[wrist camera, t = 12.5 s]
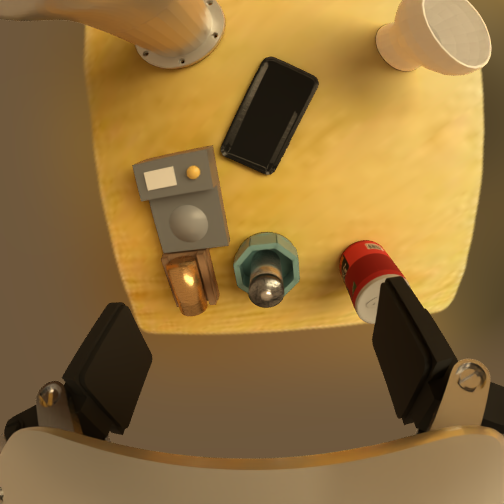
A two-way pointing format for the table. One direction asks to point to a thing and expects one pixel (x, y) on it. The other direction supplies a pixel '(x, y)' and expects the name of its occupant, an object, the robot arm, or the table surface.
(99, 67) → the table surface
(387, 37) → the cup
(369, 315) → the canned food
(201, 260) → the walnut trough
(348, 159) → the table surface
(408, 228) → the table surface
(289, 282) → the teal cup
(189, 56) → the robot arm
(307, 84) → the phone
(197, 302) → the copper cell
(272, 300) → the grey cell
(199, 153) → the checker
